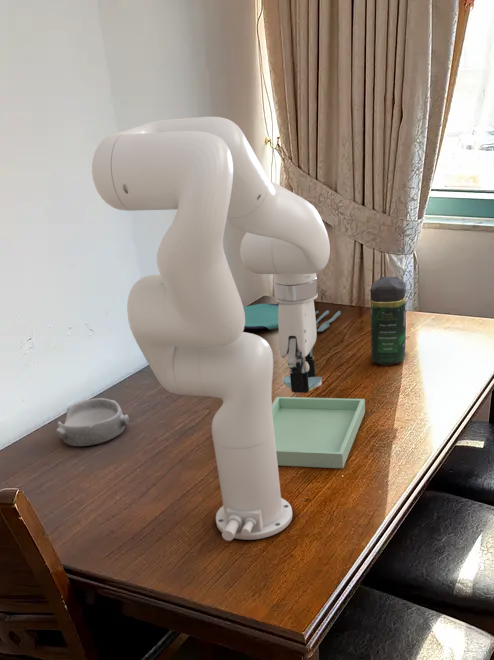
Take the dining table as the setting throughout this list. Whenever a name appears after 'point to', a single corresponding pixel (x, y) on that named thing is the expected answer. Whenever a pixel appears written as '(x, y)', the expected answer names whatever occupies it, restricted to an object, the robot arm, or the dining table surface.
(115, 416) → the dish
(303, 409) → the tray
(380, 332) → the coffee jar
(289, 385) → the pacifier
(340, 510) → the dining table surface
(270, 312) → the cutlery set
